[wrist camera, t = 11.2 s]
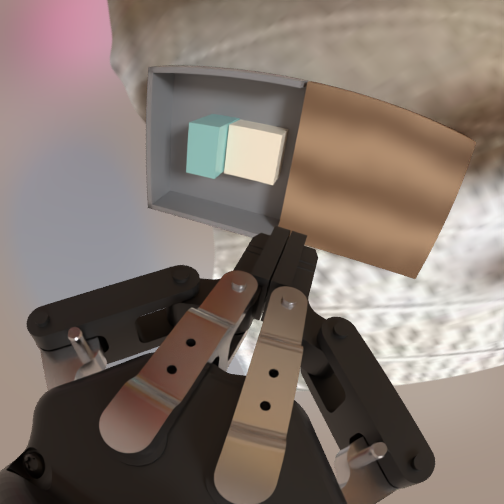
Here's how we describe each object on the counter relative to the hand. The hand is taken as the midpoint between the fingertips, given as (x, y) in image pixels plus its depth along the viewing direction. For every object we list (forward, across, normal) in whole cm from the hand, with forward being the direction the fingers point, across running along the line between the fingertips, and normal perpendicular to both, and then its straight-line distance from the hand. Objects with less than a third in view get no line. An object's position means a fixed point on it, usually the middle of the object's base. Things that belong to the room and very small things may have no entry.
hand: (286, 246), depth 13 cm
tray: (+18, +10, +2) cm, 21 cm away
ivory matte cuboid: (+17, +6, +2) cm, 18 cm away
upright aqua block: (+15, +9, +1) cm, 17 cm away
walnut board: (+18, -5, +2) cm, 19 cm away
